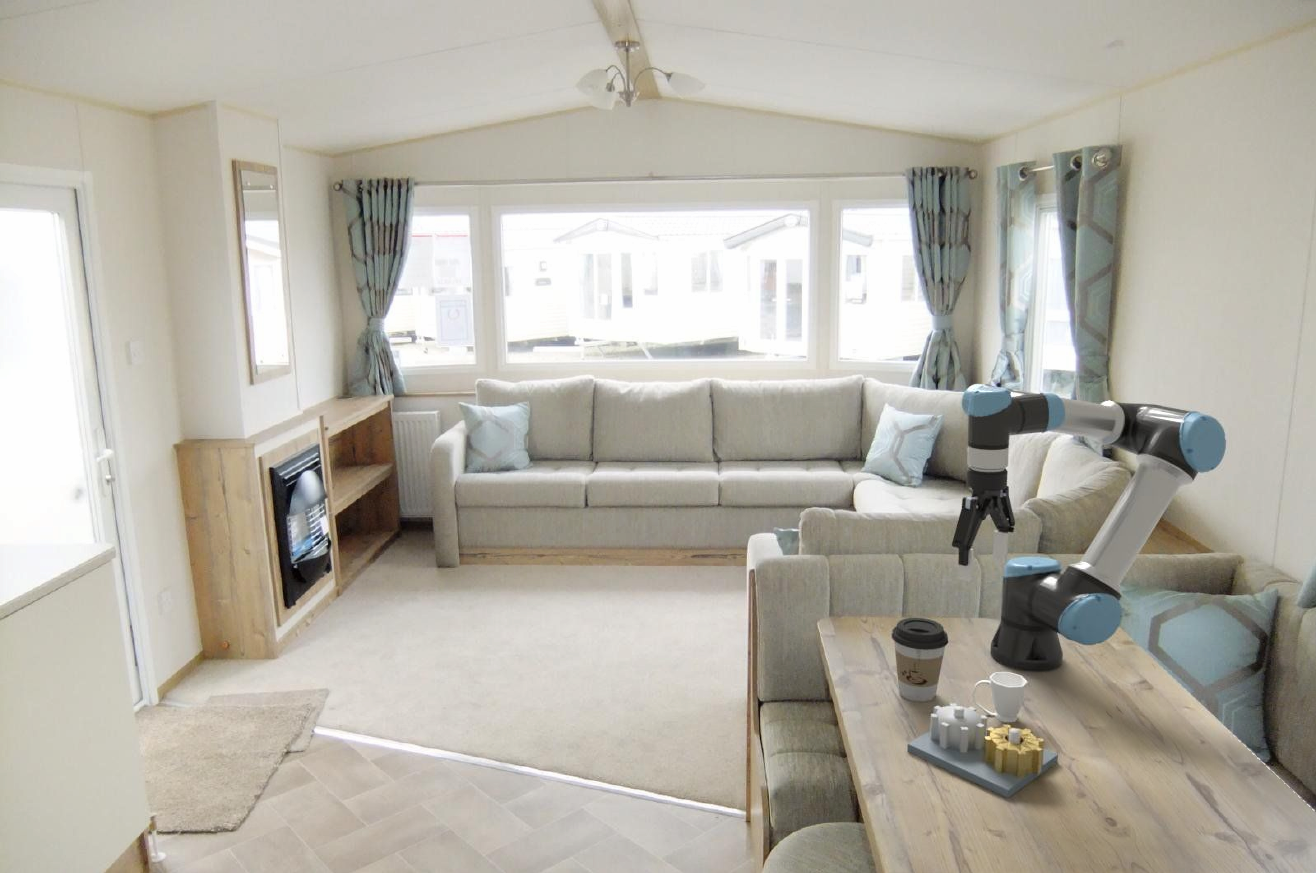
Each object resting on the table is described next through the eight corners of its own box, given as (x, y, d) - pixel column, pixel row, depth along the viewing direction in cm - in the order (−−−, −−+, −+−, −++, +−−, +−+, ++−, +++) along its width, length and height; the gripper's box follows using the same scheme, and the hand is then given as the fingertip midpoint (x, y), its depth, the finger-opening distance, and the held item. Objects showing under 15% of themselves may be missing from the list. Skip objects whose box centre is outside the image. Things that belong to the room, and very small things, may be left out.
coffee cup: (885, 701, 191) (887, 632, 188) (893, 677, 202) (895, 612, 199) (942, 710, 187) (946, 640, 184) (948, 686, 197) (951, 619, 194)
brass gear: (1001, 741, 172) (1003, 719, 171) (1053, 763, 165) (1055, 739, 164) (972, 760, 166) (973, 737, 165) (1024, 784, 159) (1026, 759, 158)
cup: (1026, 728, 180) (1028, 689, 178) (971, 720, 183) (973, 682, 181) (1024, 711, 187) (1026, 673, 185) (971, 704, 190) (973, 667, 188)
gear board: (958, 720, 183) (960, 685, 182) (1057, 761, 168) (1060, 723, 167) (907, 750, 172) (908, 713, 171) (1007, 797, 157) (1010, 757, 156)
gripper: (1000, 453, 192) (996, 551, 196) (935, 476, 176) (932, 583, 180) (1036, 458, 187) (1030, 559, 191) (971, 483, 170) (967, 592, 175)
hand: (982, 571), depth 185 cm, fingers open, 13 cm apart
